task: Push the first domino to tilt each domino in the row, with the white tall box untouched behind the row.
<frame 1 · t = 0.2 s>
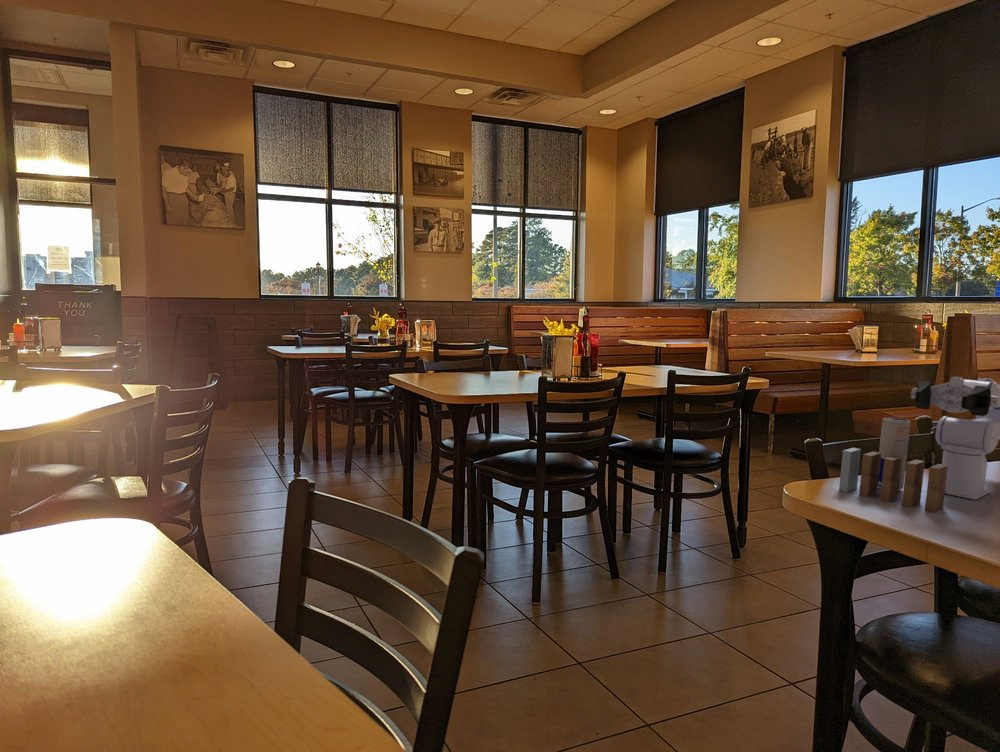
hand: (940, 399, 129), 21 cm above the table, tool horizontal, fingers open, 7 cm apart
domino 1: (933, 509, 132), on the table
domino 3: (889, 498, 138), on the table
white tall box: (888, 489, 145), on the table
domino 4: (868, 493, 141), on the table
domino 2: (911, 503, 135), on the table
domino 5: (847, 489, 144), on the table
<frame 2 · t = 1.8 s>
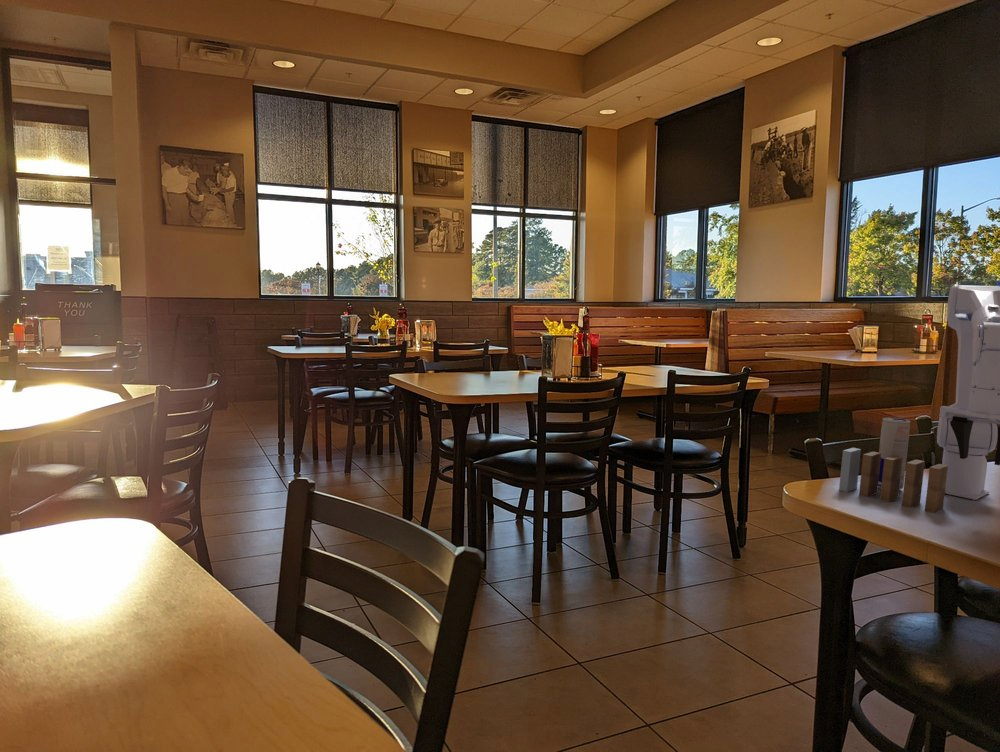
hand: (980, 461, 127), 10 cm above the table, tool pointing down, fingers open, 5 cm apart
nothing on the table moved.
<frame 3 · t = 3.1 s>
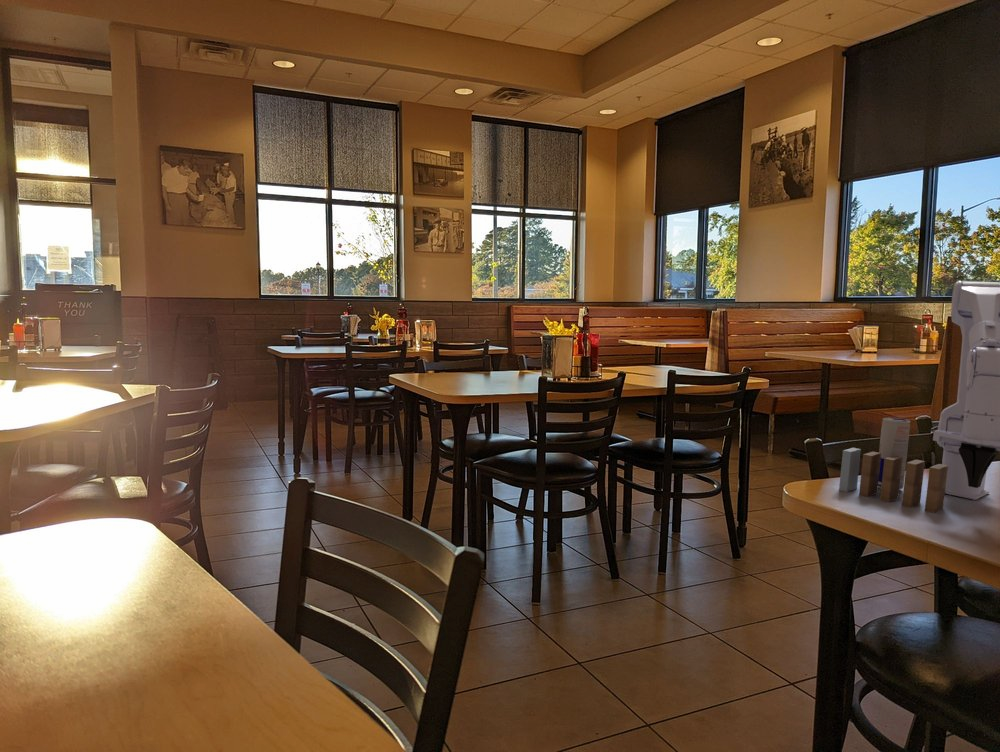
hand: (974, 486, 127), 6 cm above the table, tool pointing down, fingers closed
nothing on the table moved.
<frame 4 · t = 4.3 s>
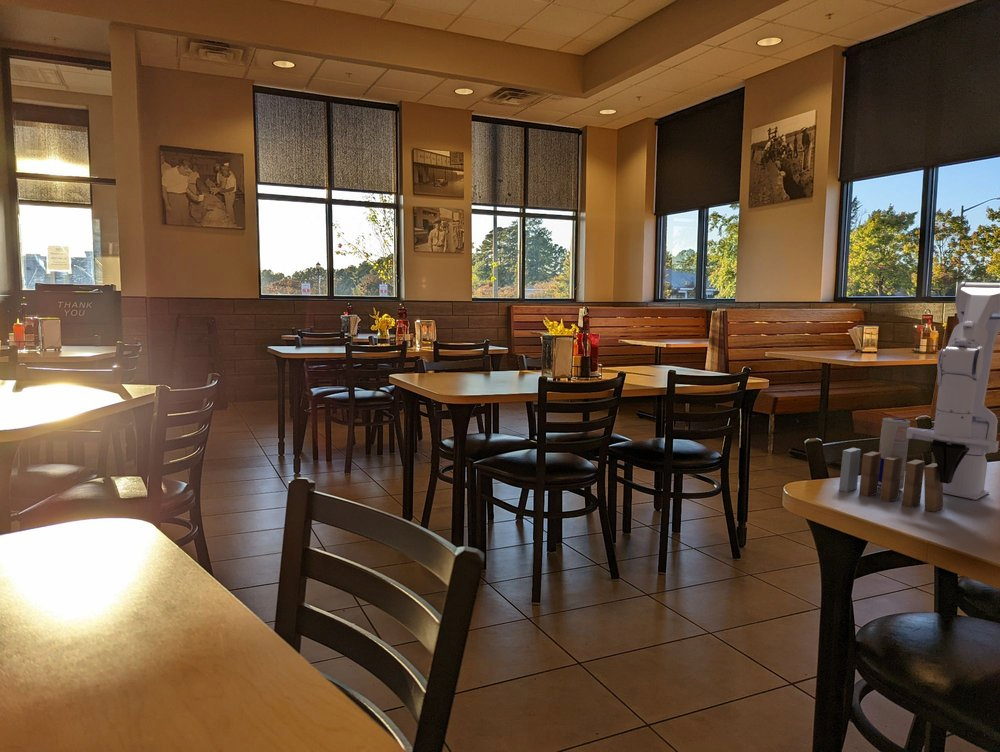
hand: (945, 482, 130), 6 cm above the table, tool pointing down, fingers closed
domino 1: (933, 508, 132), on the table, tilted 6°, touching gripper
everything else where it was.
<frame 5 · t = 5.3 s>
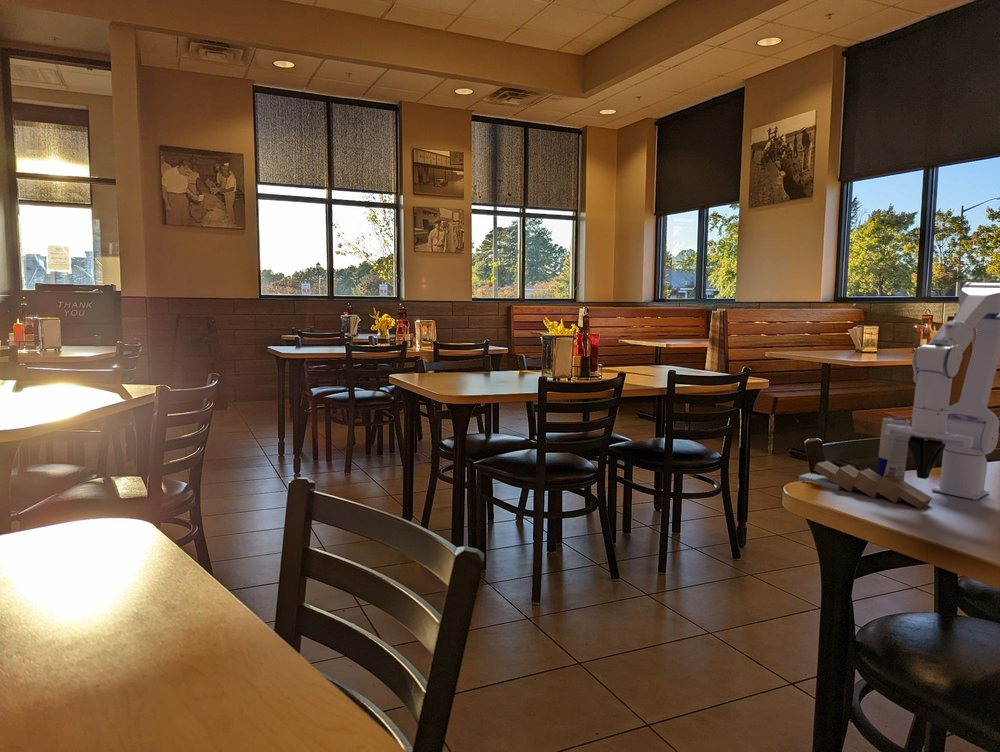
hand: (922, 477, 133), 6 cm above the table, tool pointing down, fingers closed
domino 1: (926, 503, 133), point 1 cm above the table, tilted 68°, touching domino 2
domino 3: (880, 493, 139), point 1 cm above the table, tilted 68°, touching domino 2, domino 4
domino 4: (856, 486, 143), point 1 cm above the table, tilted 71°, touching domino 3
domino 2: (901, 497, 136), point 1 cm above the table, tilted 67°, touching domino 1, domino 3
domino 5: (843, 487, 145), on the table, tilted 90°
everything else where it was.
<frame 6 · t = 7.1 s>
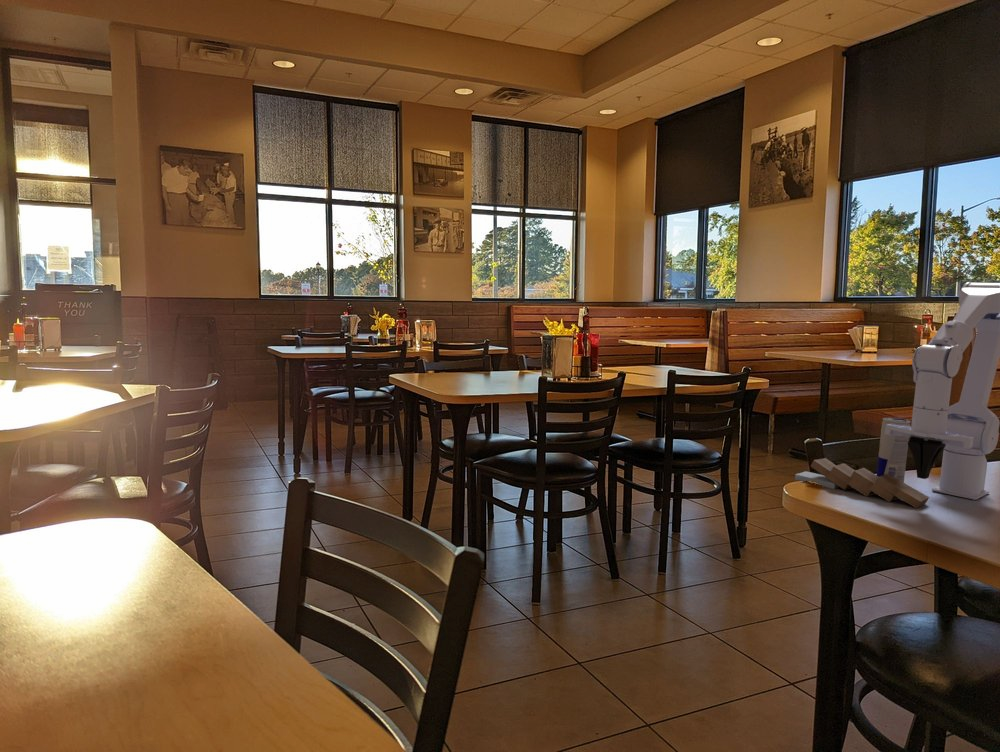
hand: (922, 477, 133), 6 cm above the table, tool pointing down, fingers closed
domino 3: (873, 491, 140), point 1 cm above the table, tilted 67°, touching domino 2, domino 4
domino 4: (852, 485, 143), point 1 cm above the table, tilted 68°, touching domino 3, domino 5
domino 2: (896, 496, 137), point 1 cm above the table, tilted 67°, touching domino 1, domino 3
domino 5: (839, 485, 145), on the table, tilted 90°, touching domino 4
everything else where it was.
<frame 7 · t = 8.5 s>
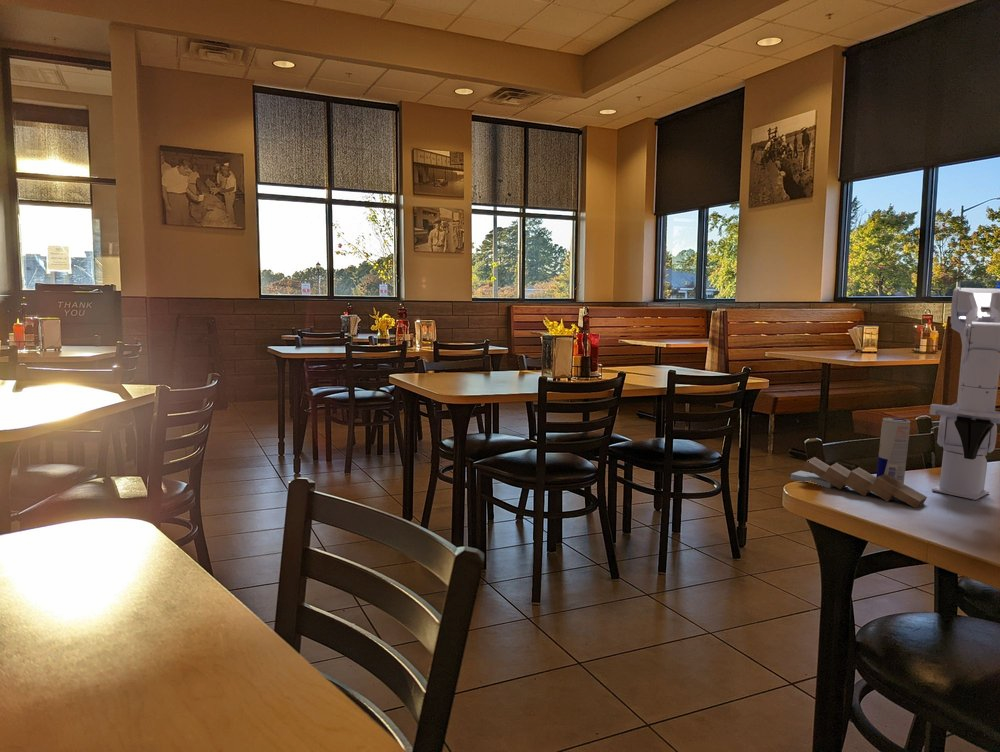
hand: (969, 458, 130), 10 cm above the table, tool pointing down, fingers closed
domino 4: (846, 484, 144), point 1 cm above the table, tilted 67°, touching domino 3, domino 5
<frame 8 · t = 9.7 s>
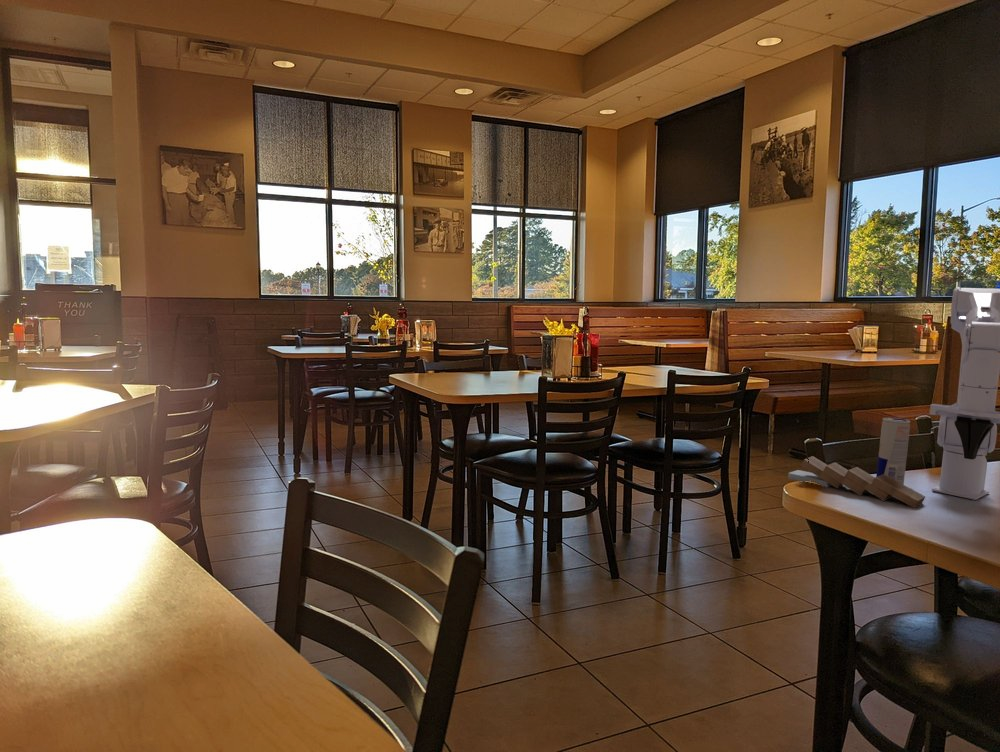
hand: (969, 458, 130), 10 cm above the table, tool pointing down, fingers closed
at the end: domino 5 tilted 90°; domino 1 tilted 71° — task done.
